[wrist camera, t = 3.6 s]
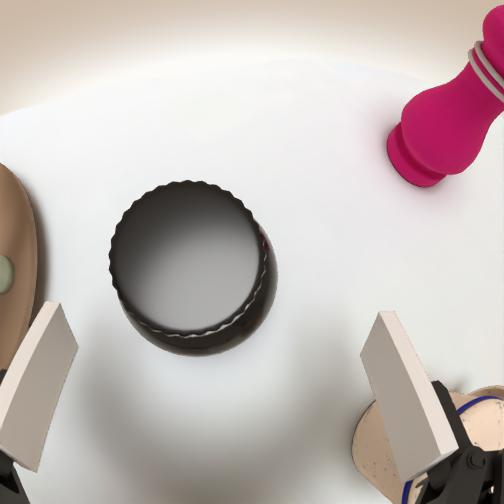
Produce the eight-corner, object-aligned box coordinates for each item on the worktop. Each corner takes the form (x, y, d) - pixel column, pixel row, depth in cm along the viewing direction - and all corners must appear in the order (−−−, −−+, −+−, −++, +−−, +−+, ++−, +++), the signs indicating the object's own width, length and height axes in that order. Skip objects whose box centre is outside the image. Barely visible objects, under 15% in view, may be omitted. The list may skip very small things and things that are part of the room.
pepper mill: (366, 136, 24) (491, -45, 5) (413, 117, 26) (524, -20, 6) (413, 205, 23) (595, 65, 4) (455, 176, 25) (597, 63, 5)
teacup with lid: (365, 498, 18) (439, 572, 6) (330, 419, 19) (420, 491, 8) (470, 420, 20) (564, 443, 8) (450, 340, 21) (561, 336, 10)
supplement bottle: (153, 339, 19) (67, 357, 8) (159, 239, 21) (95, 150, 9) (256, 344, 20) (298, 375, 8) (258, 243, 21) (297, 154, 10)
